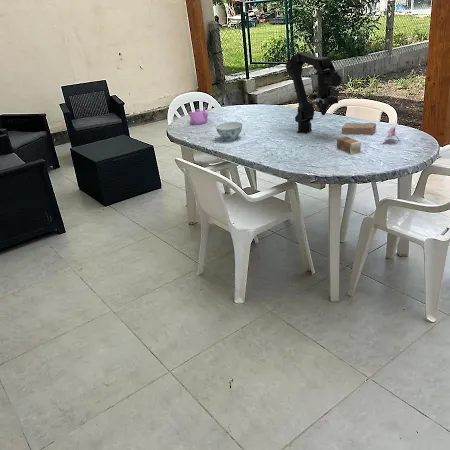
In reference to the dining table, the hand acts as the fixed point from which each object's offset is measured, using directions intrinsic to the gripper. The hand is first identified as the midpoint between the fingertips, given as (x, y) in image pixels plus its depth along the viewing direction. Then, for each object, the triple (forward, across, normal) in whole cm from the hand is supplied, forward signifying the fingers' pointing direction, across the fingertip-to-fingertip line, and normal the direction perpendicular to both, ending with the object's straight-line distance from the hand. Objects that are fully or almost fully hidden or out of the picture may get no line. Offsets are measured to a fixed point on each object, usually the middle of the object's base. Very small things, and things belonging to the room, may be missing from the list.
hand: (323, 115), depth 231 cm
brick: (+12, -4, -19) cm, 23 cm away
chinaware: (+12, +33, +40) cm, 54 cm away
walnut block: (+10, -19, +2) cm, 21 cm away
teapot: (+12, +82, +43) cm, 93 cm away
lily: (+12, -27, -21) cm, 37 cm away
